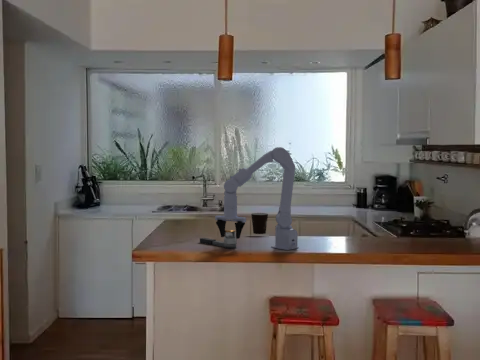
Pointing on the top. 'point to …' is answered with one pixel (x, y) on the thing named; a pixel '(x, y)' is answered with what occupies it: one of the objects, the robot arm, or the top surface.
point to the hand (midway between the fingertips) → (230, 237)
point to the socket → (230, 237)
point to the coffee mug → (259, 222)
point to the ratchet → (217, 243)
